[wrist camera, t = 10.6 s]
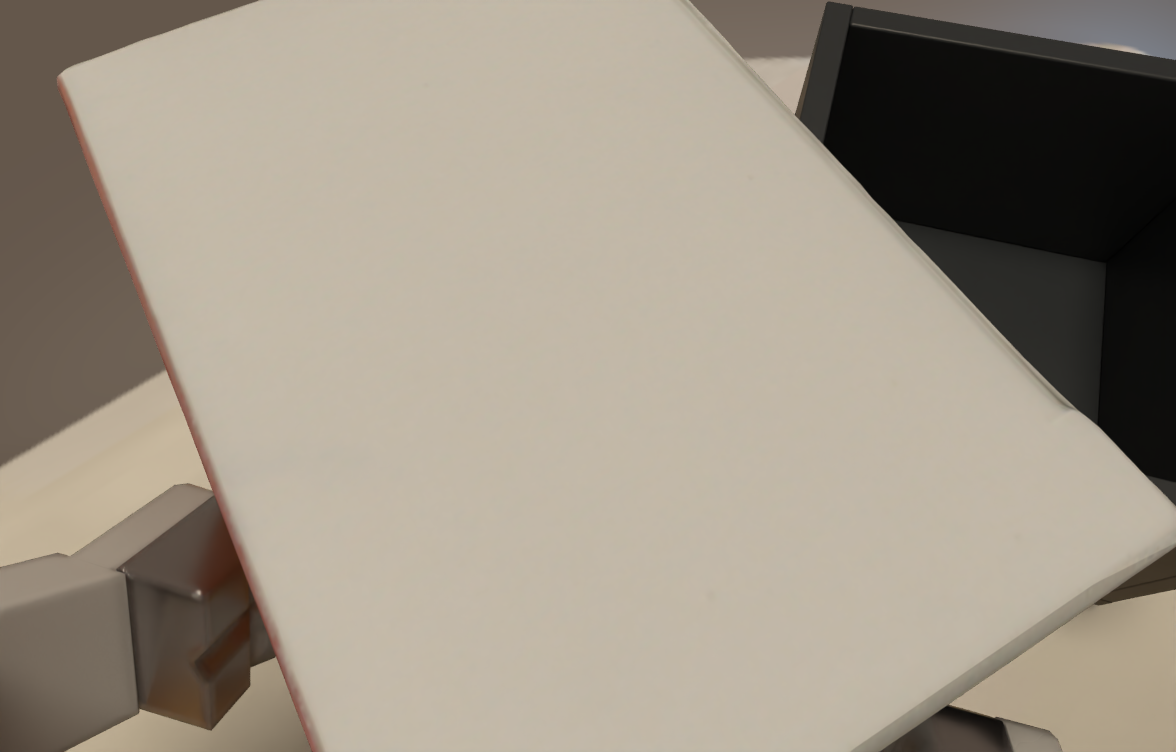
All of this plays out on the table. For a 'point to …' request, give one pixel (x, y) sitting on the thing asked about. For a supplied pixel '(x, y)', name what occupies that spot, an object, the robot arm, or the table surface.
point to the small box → (583, 386)
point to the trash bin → (1027, 202)
